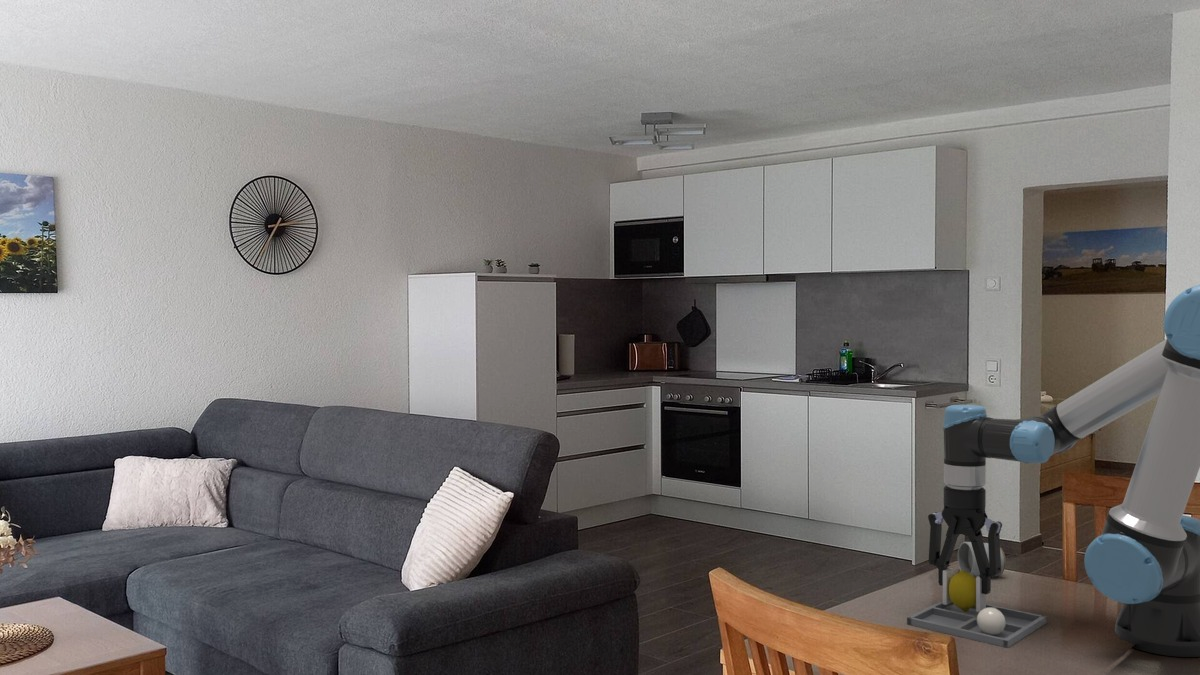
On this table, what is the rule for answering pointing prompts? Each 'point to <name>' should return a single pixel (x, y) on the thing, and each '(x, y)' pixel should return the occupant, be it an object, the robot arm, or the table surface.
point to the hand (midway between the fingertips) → (964, 606)
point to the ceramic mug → (974, 559)
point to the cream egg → (991, 621)
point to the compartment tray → (966, 625)
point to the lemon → (963, 590)
